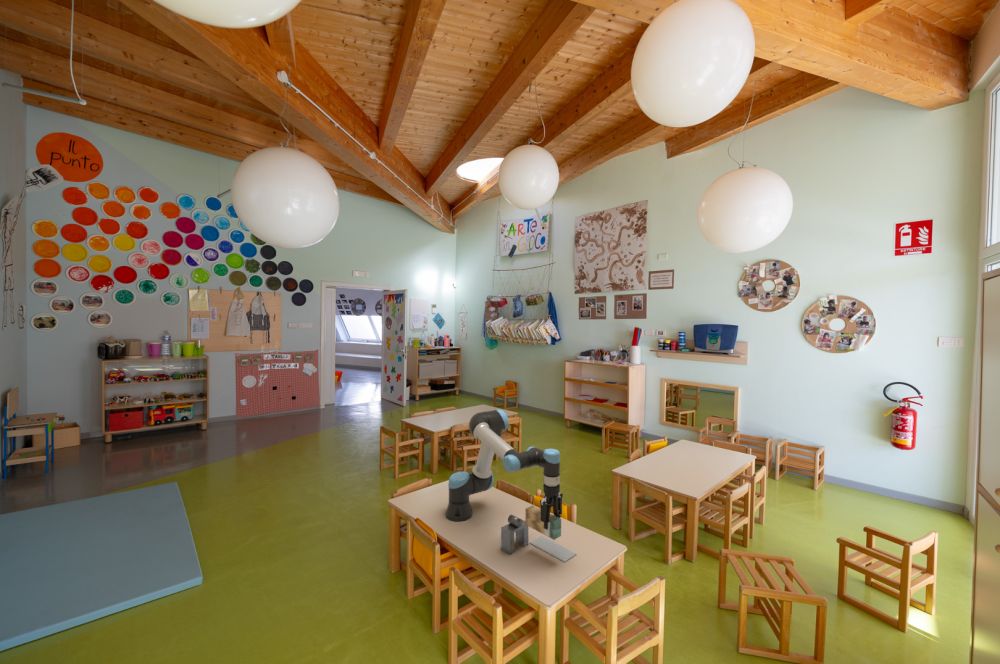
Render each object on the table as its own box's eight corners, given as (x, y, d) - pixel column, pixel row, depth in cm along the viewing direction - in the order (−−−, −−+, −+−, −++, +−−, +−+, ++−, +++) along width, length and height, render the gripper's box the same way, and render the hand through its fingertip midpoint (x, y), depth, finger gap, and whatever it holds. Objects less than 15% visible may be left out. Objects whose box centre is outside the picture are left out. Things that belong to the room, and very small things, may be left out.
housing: (501, 549, 202) (501, 519, 202) (519, 539, 211) (519, 510, 210) (509, 554, 198) (509, 523, 197) (528, 544, 207) (528, 514, 206)
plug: (525, 524, 200) (525, 508, 200) (532, 521, 204) (532, 505, 203) (553, 539, 187) (554, 522, 187) (561, 535, 190) (561, 518, 190)
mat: (529, 543, 207) (529, 542, 207) (541, 536, 214) (541, 535, 214) (564, 562, 191) (564, 561, 191) (576, 554, 198) (576, 553, 198)
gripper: (544, 491, 182) (544, 543, 183) (570, 480, 194) (570, 529, 195) (532, 486, 187) (531, 536, 188) (558, 476, 199) (557, 523, 200)
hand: (551, 532), depth 192 cm, fingers closed on plug, 5 cm apart
